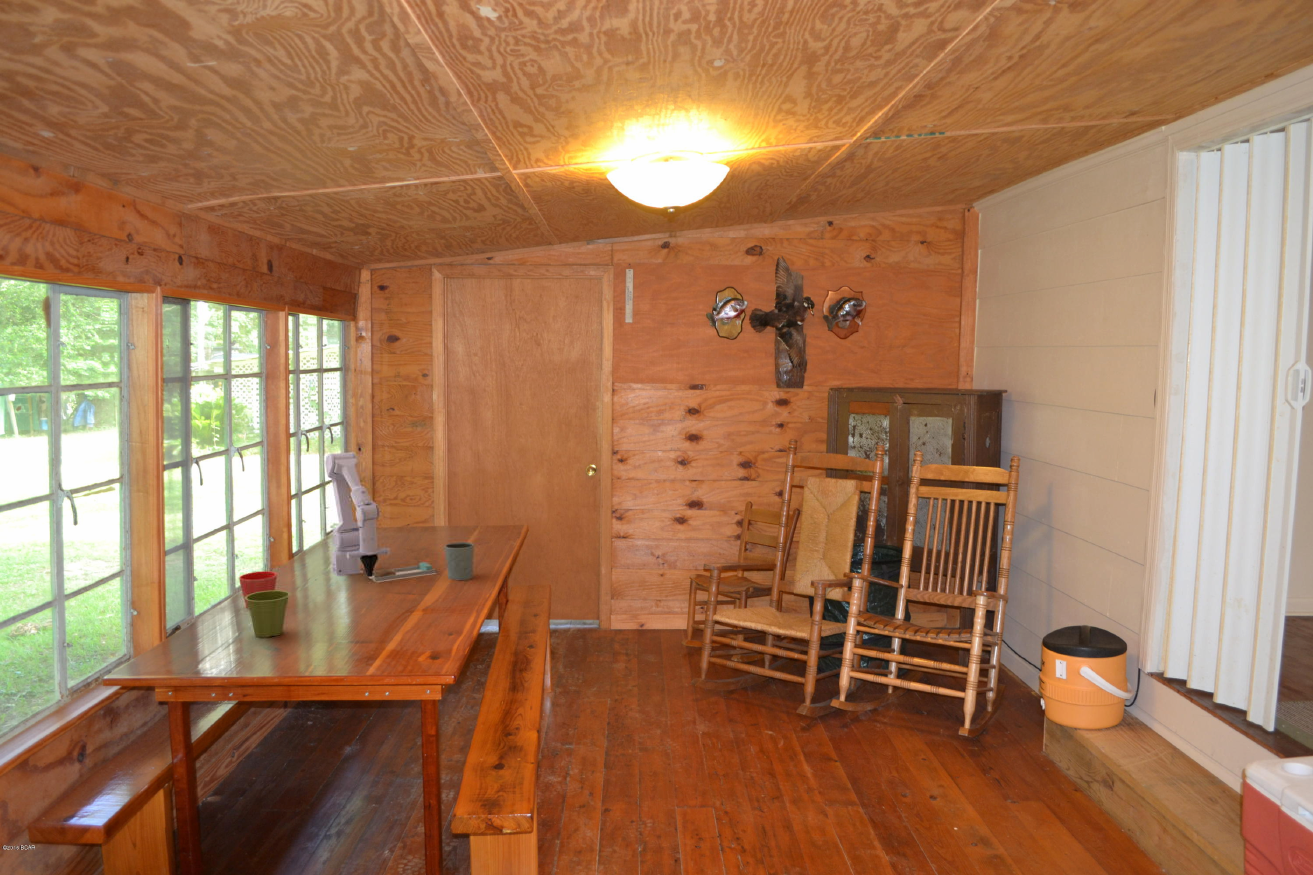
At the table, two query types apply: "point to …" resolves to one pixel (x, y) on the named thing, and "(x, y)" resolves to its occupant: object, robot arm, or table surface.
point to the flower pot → (257, 583)
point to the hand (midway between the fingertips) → (369, 576)
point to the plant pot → (268, 611)
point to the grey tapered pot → (460, 560)
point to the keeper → (384, 573)
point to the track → (407, 572)
